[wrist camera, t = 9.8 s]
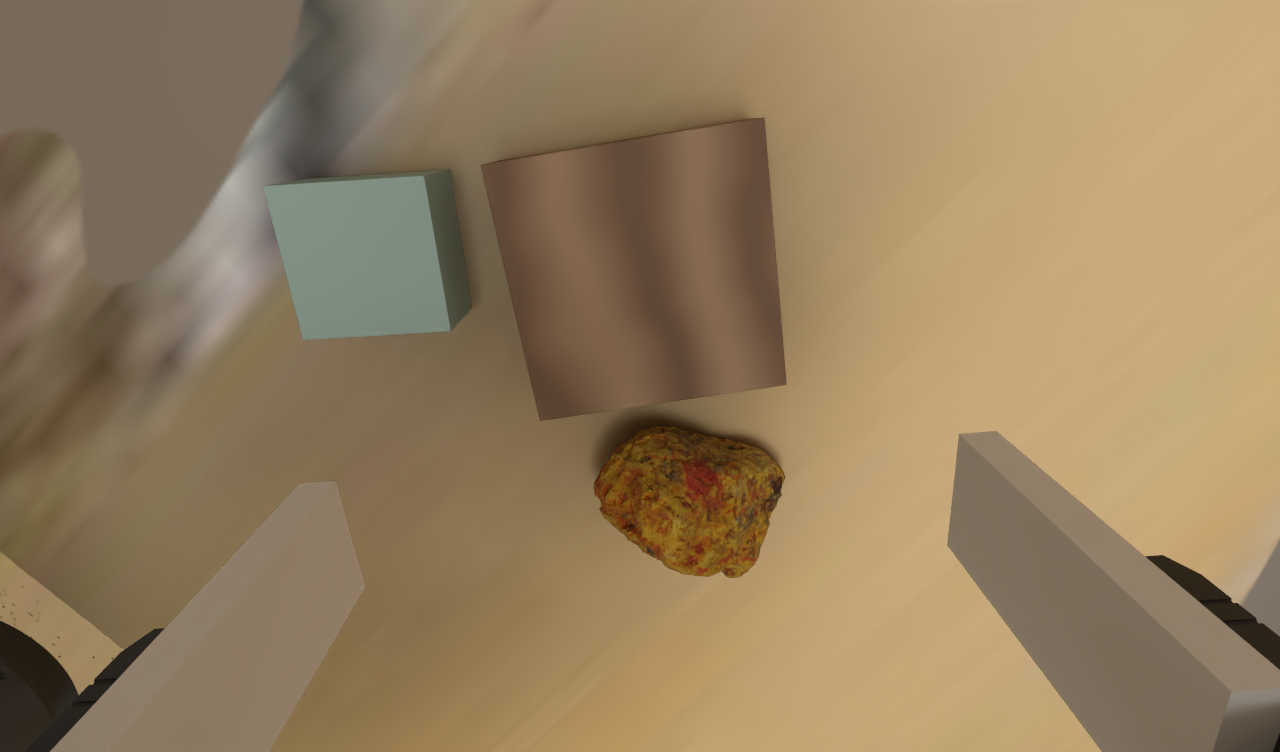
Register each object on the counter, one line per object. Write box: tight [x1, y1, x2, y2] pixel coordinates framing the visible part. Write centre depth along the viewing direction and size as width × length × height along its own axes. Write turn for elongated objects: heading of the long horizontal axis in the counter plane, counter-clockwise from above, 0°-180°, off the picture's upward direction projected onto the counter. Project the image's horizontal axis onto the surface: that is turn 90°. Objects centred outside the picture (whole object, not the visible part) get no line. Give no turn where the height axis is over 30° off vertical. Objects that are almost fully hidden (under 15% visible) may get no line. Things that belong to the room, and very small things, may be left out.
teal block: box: [263, 169, 472, 340], centre depth 36 cm, size 8×8×5 cm
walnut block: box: [481, 118, 787, 421], centre depth 37 cm, size 14×14×5 cm
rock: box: [594, 426, 785, 578], centre depth 41 cm, size 11×8×10 cm
